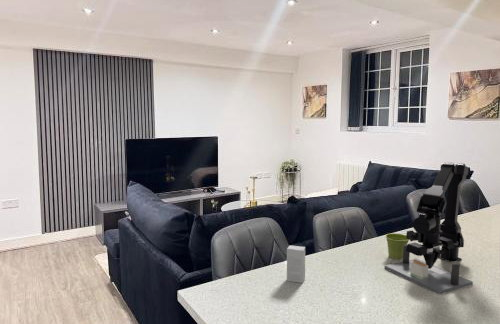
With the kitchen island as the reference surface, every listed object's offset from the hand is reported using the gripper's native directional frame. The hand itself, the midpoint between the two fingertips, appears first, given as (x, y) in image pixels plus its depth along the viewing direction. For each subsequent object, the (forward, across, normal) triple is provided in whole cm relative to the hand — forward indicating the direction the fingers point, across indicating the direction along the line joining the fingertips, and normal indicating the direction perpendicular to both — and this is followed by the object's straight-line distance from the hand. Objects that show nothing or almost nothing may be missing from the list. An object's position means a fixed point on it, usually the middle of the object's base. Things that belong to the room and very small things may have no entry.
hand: (429, 268), depth 141 cm
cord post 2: (+2, 0, +11) cm, 11 cm away
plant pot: (+3, -4, -19) cm, 19 cm away
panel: (+3, +1, 0) cm, 3 cm away
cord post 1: (+2, 0, -10) cm, 11 cm away
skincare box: (+2, +46, -18) cm, 50 cm away
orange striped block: (+1, +5, 0) cm, 6 cm away
